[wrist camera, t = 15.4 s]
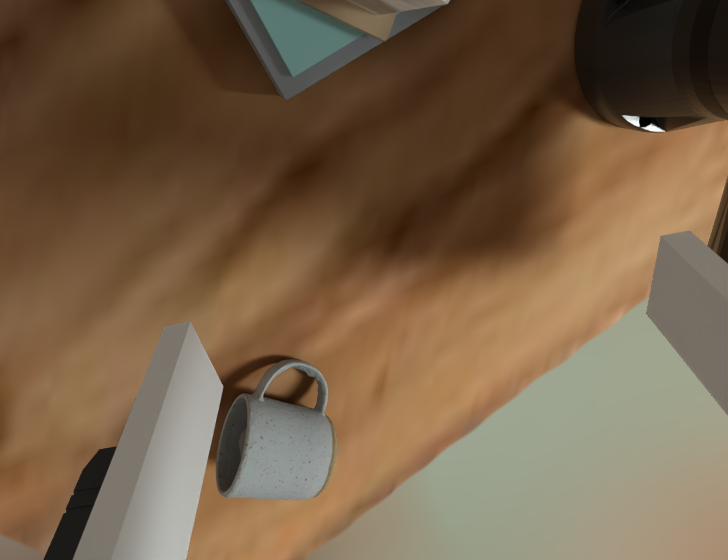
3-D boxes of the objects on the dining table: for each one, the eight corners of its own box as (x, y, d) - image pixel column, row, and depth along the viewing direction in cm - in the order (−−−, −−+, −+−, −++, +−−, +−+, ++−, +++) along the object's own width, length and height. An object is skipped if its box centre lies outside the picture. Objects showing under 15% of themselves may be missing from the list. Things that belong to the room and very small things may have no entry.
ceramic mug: (300, 459, 47) (316, 527, 41) (212, 447, 44) (214, 518, 37) (343, 364, 45) (368, 419, 38) (253, 343, 41) (262, 400, 35)
